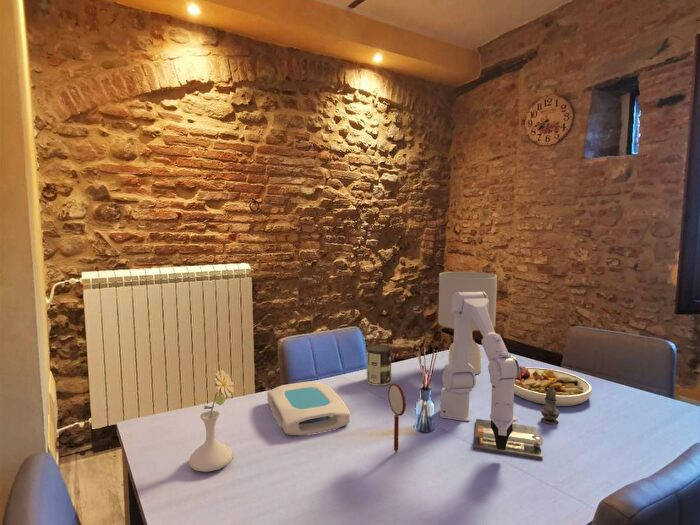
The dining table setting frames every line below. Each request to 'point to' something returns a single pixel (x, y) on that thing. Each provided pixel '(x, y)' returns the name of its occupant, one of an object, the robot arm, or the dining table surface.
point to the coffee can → (379, 365)
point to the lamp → (471, 283)
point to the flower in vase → (213, 432)
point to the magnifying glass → (396, 408)
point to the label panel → (509, 442)
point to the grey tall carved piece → (550, 408)
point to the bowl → (540, 379)
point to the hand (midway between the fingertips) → (500, 448)
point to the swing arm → (512, 436)
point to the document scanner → (307, 408)
